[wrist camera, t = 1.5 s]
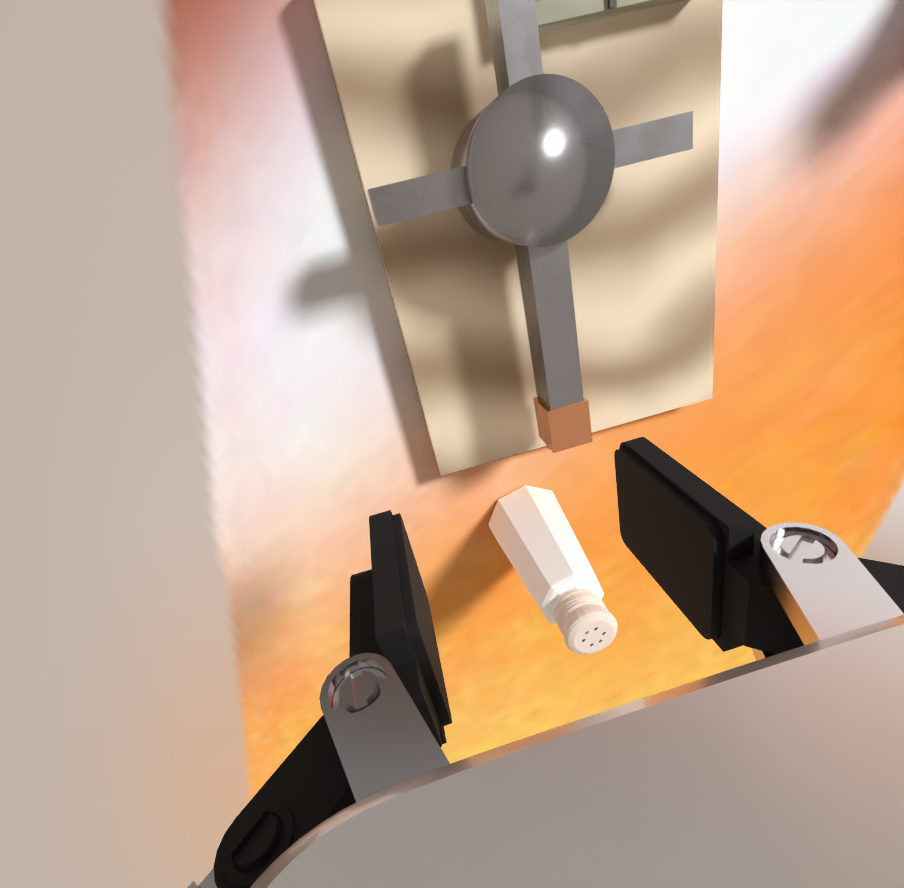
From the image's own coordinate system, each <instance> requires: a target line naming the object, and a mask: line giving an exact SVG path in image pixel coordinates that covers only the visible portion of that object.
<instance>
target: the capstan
mask: <svg viewBox="0 0 904 888" xmlns="http://www.w3.org/2000/svg"><path fill="white" fill-rule="evenodd" d="M485 7H486V14H487V21H488V28H489V35H490V42H491V49H492V56H493V63H494V70H495V76H496V83H497V90H498V96H497V97H496V98H495V99H494V100H493V101H492V102H491V103H489V104H488V105H487V106H486V107H485V108H484V109H482V110H481V111H480V112H479V113H478V114H477V115H476V116H475V117H474V118H473V119H472V120H471V121H470V122H469V123H468V124H467V126H466V127H465V129H464V130H463V132H462V133H461V135H460V137H459V139H458V141H457V144H456V147H455V150H454V153H453V158H452V164H451V169H450V170H446V171H442V172H438V173H433V174H429V175H425V176H421V177H417V178H413V179H409V180H404V181H400V182H396V183H392V184H388V185H384V186H380V187H376V188H371V189H368V191H367V193H368V197H369V200H370V204H371V208H372V212H373V215H374V219H375V223H376V226H377V227H379V226H383V225H387V224H391V223H396V222H400V221H404V220H408V219H412V218H416V217H420V216H424V215H428V214H432V213H436V212H440V211H444V210H448V209H452V208H456V207H458V209H459V211H460V213H461V214H462V216H463V217H464V219H465V220H466V222H467V223H468V224H469V225H470V226H471V227H472V228H473V229H474V230H475V231H476V232H478V233H479V234H481V235H482V236H484V237H486V238H488V239H490V240H493V241H497V242H502V243H509V244H514V245H515V252H516V259H517V265H518V272H519V279H520V285H521V292H522V299H523V305H524V312H525V319H526V326H527V332H528V339H529V346H530V352H531V359H532V366H533V372H534V379H535V386H536V392H537V397H535V398H533V400H534V407H535V413H536V420H537V426H538V433H539V437H540V438H541V439H542V440H543V442H544V443H545V444H546V445H547V446H548V447H549V448H550V450H551V451H552V452H553V453H555V452H558V451H562V450H565V449H569V448H572V447H576V446H579V445H582V444H586V443H589V442H592V432H591V422H590V412H589V401H588V400H587V399H586V398H584V397H583V388H582V378H581V368H580V358H579V349H578V339H577V329H576V320H575V310H574V300H573V291H572V281H571V271H570V262H569V252H568V242H567V240H568V239H570V238H572V237H573V236H575V235H576V234H578V233H579V232H580V231H582V230H583V229H584V228H585V227H586V226H587V225H588V224H589V223H590V222H591V221H592V220H593V218H594V217H595V216H596V214H597V213H598V212H599V210H600V208H601V206H602V205H603V203H604V201H605V199H606V196H607V194H608V192H609V189H610V186H611V182H612V178H613V173H614V168H618V167H622V166H626V165H630V164H634V163H638V162H642V161H646V160H650V159H654V158H658V157H662V156H666V155H670V154H674V153H678V152H682V151H686V150H690V149H693V111H690V112H686V113H682V114H678V115H673V116H669V117H665V118H661V119H657V120H653V121H649V122H644V123H640V124H636V125H632V126H628V127H624V128H620V129H616V130H612V128H611V125H610V122H609V119H608V116H607V114H606V112H605V110H604V108H603V107H602V105H601V104H600V102H599V101H598V99H597V98H596V97H595V96H594V95H593V94H592V93H591V91H590V90H588V89H587V88H586V87H585V86H583V85H582V84H580V83H579V82H577V81H575V80H574V79H571V78H568V77H566V76H562V75H557V74H543V68H542V59H541V50H540V41H539V31H538V22H537V13H536V4H535V0H485Z"/></svg>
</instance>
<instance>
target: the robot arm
mask: <svg viewBox="0 0 904 888" xmlns="http://www.w3.org/2000/svg"><path fill="white" fill-rule="evenodd" d="M615 469H616V482H617V495H618V508H619V521H620V532H621V536H622V539H623V541H624V543H625V545H626V546H627V547H628V548H629V549H630V551H631V552H632V553H633V554H634V555H635V557H636V558H637V559H638V560H639V561H640V563H641V564H642V565H643V566H644V567H645V568H646V570H647V571H648V572H649V573H650V574H651V576H652V577H653V578H654V579H655V580H656V581H657V583H658V584H659V585H660V586H661V587H662V589H663V590H664V591H665V592H666V593H667V595H668V596H669V597H670V598H671V599H672V600H673V602H674V603H675V604H676V605H677V606H678V608H679V609H680V610H681V611H682V612H683V614H684V615H685V616H686V617H687V618H688V619H689V621H690V622H691V623H692V624H693V625H694V627H695V628H696V629H697V630H698V631H699V633H700V634H701V635H702V636H703V637H704V638H706V639H713V640H714V641H715V642H716V644H717V645H718V646H719V647H720V648H721V649H722V651H723V652H724V651H727V650H730V649H733V648H736V647H739V646H743V645H745V646H747V647H750V648H752V650H753V654H754V656H755V658H756V661H755V662H752V663H749V664H746V665H743V666H740V667H736V668H733V669H730V670H727V671H724V672H721V673H718V674H715V675H712V676H709V677H706V678H703V679H700V680H697V681H694V682H691V683H688V684H685V685H682V686H679V687H676V688H673V689H670V690H667V691H664V692H661V693H658V694H655V695H652V696H649V697H646V698H643V699H640V700H637V701H634V702H631V703H628V704H625V705H622V706H619V707H616V708H613V709H610V710H607V711H604V712H601V713H598V714H595V715H592V716H589V717H586V718H583V719H580V720H577V721H574V722H571V723H568V724H565V725H562V726H559V727H556V728H553V729H550V730H547V731H545V732H542V733H539V734H536V735H533V736H530V737H527V738H524V739H521V740H518V741H515V742H512V743H509V744H506V745H503V746H500V747H497V748H494V749H491V750H488V751H485V752H483V753H480V754H477V755H474V756H471V757H469V758H466V759H463V760H460V761H457V762H455V763H452V764H450V763H449V761H448V760H447V758H446V756H445V755H444V753H443V751H442V749H441V746H442V744H444V743H446V737H445V731H444V726H445V725H448V724H451V723H452V719H451V713H450V708H449V703H448V698H447V693H446V688H445V683H444V678H443V673H442V668H441V663H440V658H439V653H438V648H437V642H436V637H435V632H434V627H433V622H432V617H431V612H430V607H429V602H428V598H427V595H426V591H425V588H424V585H423V582H422V579H421V576H420V573H419V570H418V567H417V564H416V560H415V557H414V554H413V551H412V548H411V545H410V542H409V539H408V536H407V533H406V530H405V526H404V523H403V520H402V517H401V515H400V513H399V514H396V515H392V512H391V511H390V510H389V511H386V512H382V513H379V514H375V515H372V516H370V517H369V524H370V543H371V562H372V569H371V570H368V571H365V572H361V573H358V574H355V575H352V576H351V579H350V658H348V659H346V660H344V661H343V662H342V663H340V664H339V665H338V666H336V667H335V668H334V669H333V671H332V672H331V673H330V674H329V675H328V676H327V678H326V680H325V682H324V684H323V686H322V688H321V693H320V704H321V709H322V712H323V714H324V715H323V716H322V717H321V718H320V719H319V721H318V722H317V723H316V724H315V725H314V726H313V728H312V729H311V730H310V731H309V732H308V733H307V735H306V736H305V737H304V738H303V739H302V741H301V742H300V743H299V744H298V745H297V746H296V748H295V749H294V750H293V751H292V752H291V754H290V755H289V756H288V757H287V758H286V759H285V761H284V762H283V763H282V764H281V765H280V767H279V768H278V769H277V770H276V771H275V772H274V774H273V775H272V776H271V777H270V778H269V780H268V781H267V782H266V783H265V784H264V785H263V787H262V788H261V789H260V790H259V791H258V792H257V794H256V795H255V796H254V797H253V798H252V800H251V801H250V802H249V803H248V804H247V806H246V807H245V808H244V809H243V810H242V811H241V813H240V814H239V815H238V816H237V817H236V818H235V820H234V821H233V823H232V824H231V826H230V827H229V828H228V830H227V831H226V833H225V835H224V836H223V839H222V841H221V843H220V845H219V848H218V850H217V854H216V858H215V863H214V868H213V870H212V871H211V872H210V873H209V874H208V875H207V876H206V878H205V879H204V880H203V881H202V882H201V883H200V885H199V886H198V885H197V884H196V883H195V882H194V881H193V882H192V883H191V885H190V886H189V887H188V888H904V566H901V565H896V564H890V563H885V562H879V561H874V560H868V559H863V558H857V557H856V556H855V555H854V553H853V552H852V551H851V550H850V549H849V547H848V546H847V545H846V544H845V543H844V542H843V541H842V540H841V539H840V538H839V537H838V536H837V535H835V534H833V533H831V532H830V531H828V530H826V529H823V528H820V527H817V526H814V525H810V524H804V523H788V522H787V523H781V524H776V525H773V526H771V527H769V528H766V527H764V526H763V525H762V524H760V523H759V522H758V521H756V520H755V519H754V518H753V517H751V516H750V515H748V514H747V513H746V512H744V511H743V510H742V509H740V508H739V507H738V506H736V505H735V504H734V503H732V502H731V501H730V500H728V499H727V498H726V497H724V496H723V495H721V494H720V493H719V492H717V491H716V490H715V489H713V488H712V487H711V486H709V485H708V484H707V483H705V482H704V481H703V480H701V479H700V478H699V477H697V476H696V475H694V474H693V473H692V472H690V471H689V470H688V469H686V468H685V467H684V466H682V465H681V464H680V463H678V462H677V461H676V460H674V459H673V458H672V457H670V456H669V455H668V454H666V453H665V452H663V451H662V450H661V449H659V448H658V447H657V446H655V445H654V444H653V443H651V442H650V441H649V440H647V439H646V438H644V437H640V438H637V439H633V440H630V441H626V442H623V443H621V444H620V449H618V450H616V451H615Z"/></svg>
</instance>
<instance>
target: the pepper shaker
mask: <svg viewBox="0 0 904 888" xmlns="http://www.w3.org/2000/svg"><path fill="white" fill-rule="evenodd" d="M488 526H489V528H490V530H491V531H492V533H493V535H494V536H495V538H496V540H497V542H498V543H499V545H500V547H501V548H502V550H503V551H504V553H505V554H506V556H507V558H508V559H509V561H510V562H511V564H512V565H513V567H514V569H515V570H516V572H517V573H518V575H519V576H520V578H521V579H522V581H523V583H524V584H525V586H526V587H527V589H528V590H529V592H530V594H531V595H532V597H533V598H534V600H535V601H536V603H537V605H538V606H539V608H540V609H541V611H542V612H543V614H544V615H545V617H546V618H547V619H548V621H549V622H550V623H556V624H558V626H559V628H560V630H561V632H562V634H563V635H564V640H565V643H566V645H567V647H568V648H569V649H570V650H571V651H573V652H575V653H578V654H584V655H586V654H593V653H596V652H599V651H601V650H603V649H604V648H606V647H607V646H608V645H609V644H610V643H611V642H612V641H613V639H614V638H615V636H616V633H617V629H618V626H617V621H616V619H615V617H614V616H613V615H612V614H611V613H610V612H609V611H608V610H607V608H606V606H605V604H604V603H603V601H601V600H602V598H603V596H604V593H603V590H602V588H601V586H600V584H599V582H598V579H597V577H596V575H595V573H594V571H593V569H592V567H591V565H590V563H589V561H588V559H587V557H586V556H585V554H584V552H583V550H582V548H581V546H580V544H579V542H578V540H577V538H576V536H575V534H574V532H573V530H572V528H571V527H570V525H569V523H568V521H567V519H566V517H565V515H564V513H563V511H562V509H561V507H560V505H559V503H558V501H557V499H556V498H555V496H554V494H553V492H552V491H550V490H545V489H541V488H536V487H531V486H527V485H524V486H522V487H520V488H519V489H517V490H515V491H513V492H511V493H509V494H507V495H506V496H504V497H502V498H500V499H498V501H497V504H496V506H495V509H494V511H493V514H492V516H491V519H490V521H489V524H488Z"/></svg>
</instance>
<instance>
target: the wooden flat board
mask: <svg viewBox="0 0 904 888" xmlns="http://www.w3.org/2000/svg"><path fill="white" fill-rule="evenodd" d="M313 2H314V6H315V10H316V14H317V17H318V21H319V25H320V28H321V32H322V36H323V40H324V43H325V47H326V51H327V55H328V58H329V62H330V66H331V70H332V73H333V77H334V81H335V85H336V88H337V92H338V96H339V100H340V103H341V107H342V111H343V115H344V118H345V122H346V126H347V129H348V133H349V137H350V141H351V144H352V148H353V152H354V156H355V159H356V163H357V167H358V171H359V174H360V178H361V182H362V186H363V189H364V193H365V197H366V201H367V204H368V208H369V212H370V216H371V219H372V223H373V227H374V230H375V234H376V238H377V242H378V245H379V249H380V253H381V257H382V260H383V264H384V268H385V272H386V275H387V279H388V283H389V287H390V290H391V294H392V298H393V302H394V305H395V309H396V313H397V317H398V320H399V324H400V328H401V332H402V335H403V339H404V343H405V346H406V350H407V354H408V358H409V361H410V365H411V369H412V373H413V376H414V380H415V384H416V388H417V391H418V395H419V399H420V403H421V406H422V410H423V414H424V418H425V421H426V425H427V429H428V433H429V436H430V440H431V444H432V447H433V451H434V455H435V459H436V462H437V466H438V469H439V472H440V474H441V476H443V475H447V474H450V473H454V472H457V471H461V470H464V469H467V468H471V467H474V466H478V465H481V464H485V463H488V462H492V461H495V460H499V459H502V458H506V457H509V456H513V455H516V454H520V453H523V452H527V451H530V450H534V449H537V448H540V447H544V446H547V445H546V444H545V443H544V442H543V440H542V439H541V438H540V437H539V433H538V426H537V420H536V413H535V407H534V400H533V398H535V397H537V392H536V386H535V379H534V372H533V366H532V359H531V352H530V346H529V339H528V332H527V326H526V319H525V312H524V305H523V299H522V292H521V285H520V279H519V272H518V265H517V259H516V252H515V245H514V244H509V243H502V242H497V241H493V240H490V239H488V238H486V237H484V236H482V235H481V234H479V233H478V232H476V231H475V230H474V229H473V228H472V227H471V226H470V225H469V224H468V223H467V222H466V220H465V219H464V217H463V216H462V214H461V213H460V211H459V209H458V207H456V208H452V209H448V210H444V211H440V212H436V213H432V214H428V215H424V216H420V217H416V218H412V219H408V220H404V221H400V222H396V223H391V224H387V225H383V226H379V227H377V226H376V223H375V219H374V215H373V212H372V208H371V204H370V200H369V197H368V193H367V191H368V189H371V188H376V187H380V186H384V185H388V184H392V183H396V182H400V181H404V180H409V179H413V178H417V177H421V176H425V175H429V174H433V173H438V172H442V171H446V170H450V169H451V164H452V158H453V153H454V150H455V147H456V144H457V141H458V139H459V137H460V135H461V133H462V132H463V130H464V129H465V127H466V126H467V124H468V123H469V122H470V121H471V120H472V119H473V118H474V117H475V116H476V115H477V114H478V113H479V112H480V111H481V110H482V109H484V108H485V107H486V106H487V105H488V104H489V103H491V102H492V101H493V100H494V99H495V98H496V97H497V96H498V90H497V83H496V76H495V70H494V63H493V56H492V49H491V42H490V35H489V28H488V21H487V14H486V7H485V0H313ZM535 4H536V13H537V22H538V31H539V41H540V50H541V59H542V68H543V74H557V75H562V76H566V77H568V78H571V79H574V80H575V81H577V82H579V83H580V84H582V85H583V86H585V87H586V88H587V89H588V90H590V91H591V93H592V94H593V95H594V96H595V97H596V98H597V99H598V101H599V102H600V104H601V105H602V107H603V108H604V110H605V112H606V114H607V116H608V119H609V122H610V125H611V128H612V130H616V129H620V128H624V127H628V126H632V125H636V124H640V123H644V122H649V121H653V120H657V119H661V118H665V117H669V116H673V115H678V114H682V113H686V112H690V111H693V149H690V150H686V151H682V152H678V153H674V154H670V155H666V156H662V157H658V158H654V159H650V160H646V161H642V162H638V163H634V164H630V165H626V166H622V167H618V168H614V173H613V178H612V182H611V186H610V189H609V192H608V194H607V196H606V199H605V201H604V203H603V205H602V206H601V208H600V210H599V212H598V213H597V214H596V216H595V217H594V218H593V220H592V221H591V222H590V223H589V224H588V225H587V226H586V227H585V228H584V229H583V230H582V231H580V232H579V233H578V234H576V235H575V236H573V237H572V238H570V239H568V240H567V242H568V252H569V262H570V271H571V281H572V291H573V300H574V310H575V320H576V329H577V339H578V349H579V358H580V368H581V378H582V388H583V397H584V398H586V399H587V400H588V401H589V412H590V422H591V432H592V433H593V432H596V431H600V430H603V429H607V428H610V427H613V426H617V425H620V424H624V423H627V422H631V421H634V420H638V419H641V418H645V417H648V416H652V415H655V414H659V413H662V412H666V411H669V410H673V409H676V408H680V407H683V406H686V405H690V404H693V403H697V402H700V401H704V400H707V399H711V398H712V394H713V355H714V315H715V276H716V236H717V197H718V157H719V118H720V79H721V39H722V0H535Z"/></svg>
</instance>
